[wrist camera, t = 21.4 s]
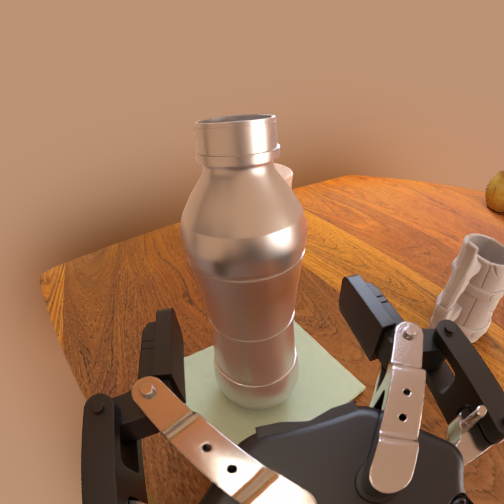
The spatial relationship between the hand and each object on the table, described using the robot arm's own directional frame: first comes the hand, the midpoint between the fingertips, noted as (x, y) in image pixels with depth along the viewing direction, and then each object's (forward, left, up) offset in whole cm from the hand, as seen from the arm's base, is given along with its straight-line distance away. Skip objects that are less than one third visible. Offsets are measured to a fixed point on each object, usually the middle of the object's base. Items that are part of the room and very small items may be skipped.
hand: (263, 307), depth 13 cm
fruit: (+73, +2, -13) cm, 74 cm away
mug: (+21, -5, -13) cm, 25 cm away
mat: (+1, +3, -13) cm, 13 cm away
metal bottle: (+1, +3, -12) cm, 13 cm away
